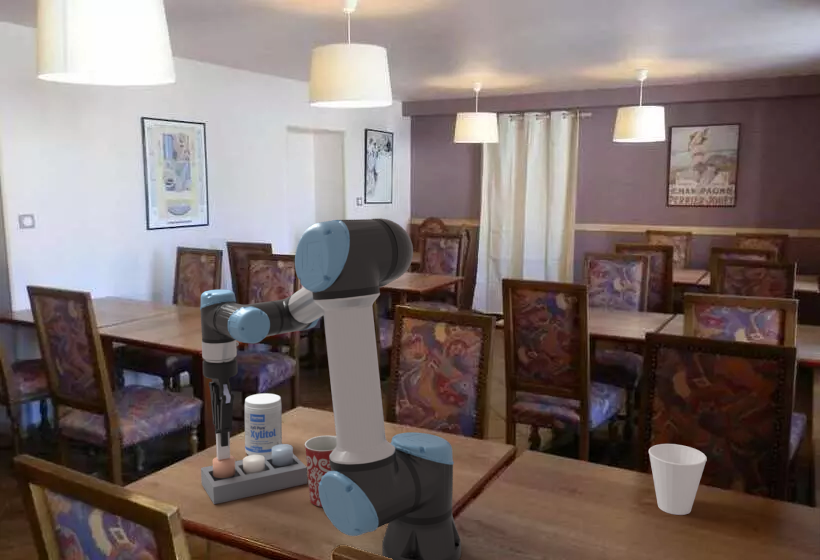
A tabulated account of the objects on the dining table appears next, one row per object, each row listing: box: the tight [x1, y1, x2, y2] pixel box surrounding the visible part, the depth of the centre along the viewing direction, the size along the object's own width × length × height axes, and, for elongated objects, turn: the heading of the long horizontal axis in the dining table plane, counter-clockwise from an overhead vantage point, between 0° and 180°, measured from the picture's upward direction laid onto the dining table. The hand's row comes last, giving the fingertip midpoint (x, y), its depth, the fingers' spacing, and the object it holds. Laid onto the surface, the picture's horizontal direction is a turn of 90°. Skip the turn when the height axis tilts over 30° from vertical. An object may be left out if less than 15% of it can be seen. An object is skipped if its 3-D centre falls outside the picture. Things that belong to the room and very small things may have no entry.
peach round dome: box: [212, 454, 236, 478], centre depth 159 cm, size 5×5×4 cm
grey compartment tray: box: [200, 453, 308, 505], centre depth 163 cm, size 12×22×4 cm, turn 119°
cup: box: [648, 443, 707, 516], centre depth 150 cm, size 12×12×12 cm
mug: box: [304, 435, 337, 508], centre depth 155 cm, size 13×9×14 cm
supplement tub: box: [244, 393, 283, 456], centre depth 181 cm, size 10×10×15 cm
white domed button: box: [242, 455, 265, 475], centre depth 162 cm, size 5×5×4 cm
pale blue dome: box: [272, 443, 294, 466], centre depth 166 cm, size 5×5×4 cm
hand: (223, 457), depth 159 cm, fingers closed
